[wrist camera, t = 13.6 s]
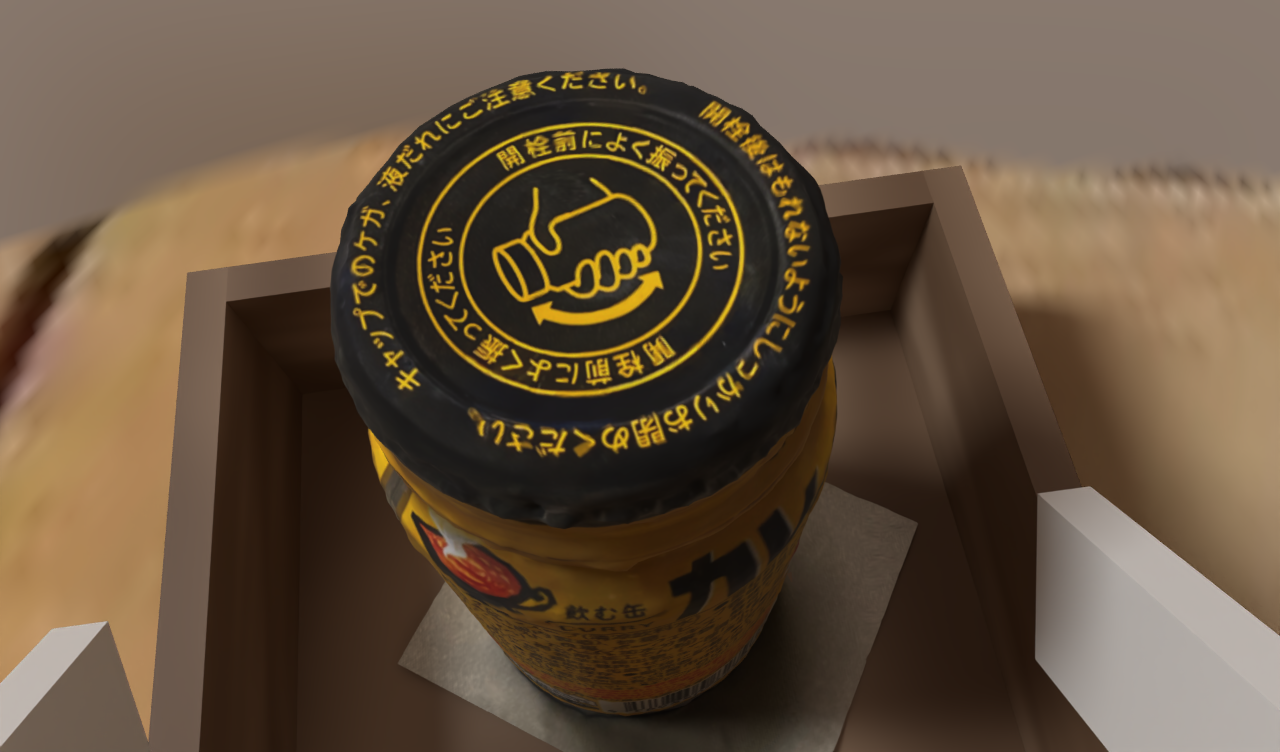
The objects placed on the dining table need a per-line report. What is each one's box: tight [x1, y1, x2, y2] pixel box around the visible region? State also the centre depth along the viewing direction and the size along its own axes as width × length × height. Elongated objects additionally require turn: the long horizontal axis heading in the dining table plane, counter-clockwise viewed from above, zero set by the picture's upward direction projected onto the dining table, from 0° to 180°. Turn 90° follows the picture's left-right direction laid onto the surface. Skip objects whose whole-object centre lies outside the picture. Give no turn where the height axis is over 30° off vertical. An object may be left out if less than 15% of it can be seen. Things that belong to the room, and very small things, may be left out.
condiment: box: [330, 69, 918, 752], centre depth 14 cm, size 7×8×12 cm
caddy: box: [148, 166, 1109, 752], centre depth 18 cm, size 16×13×5 cm
